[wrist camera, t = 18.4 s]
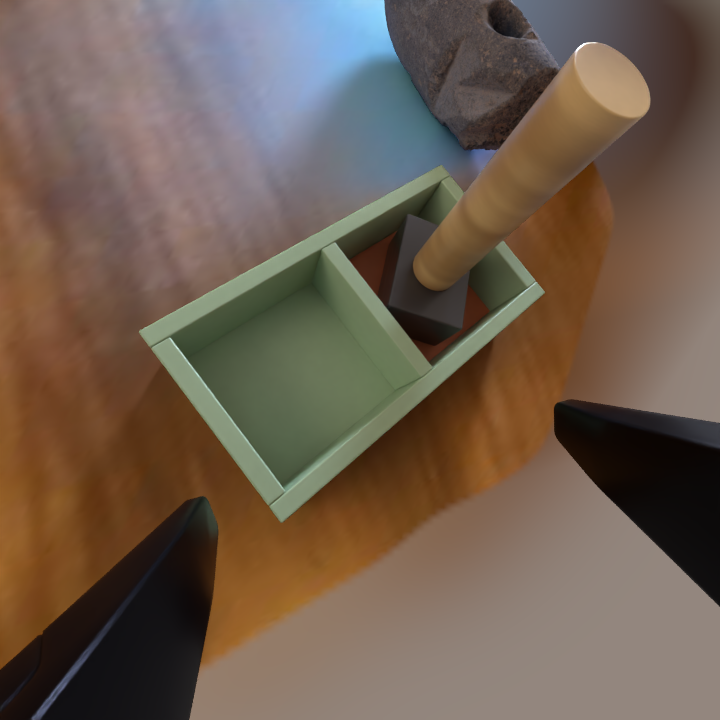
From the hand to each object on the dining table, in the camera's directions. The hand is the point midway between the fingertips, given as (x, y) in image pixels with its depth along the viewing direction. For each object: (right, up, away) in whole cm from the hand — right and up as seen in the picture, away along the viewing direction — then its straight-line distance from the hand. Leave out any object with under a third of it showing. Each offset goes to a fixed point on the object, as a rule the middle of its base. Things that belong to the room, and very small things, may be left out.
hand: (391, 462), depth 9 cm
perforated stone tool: (+5, +22, +18) cm, 29 cm away
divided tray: (-1, +4, +12) cm, 12 cm away
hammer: (+2, +6, +12) cm, 14 cm away
